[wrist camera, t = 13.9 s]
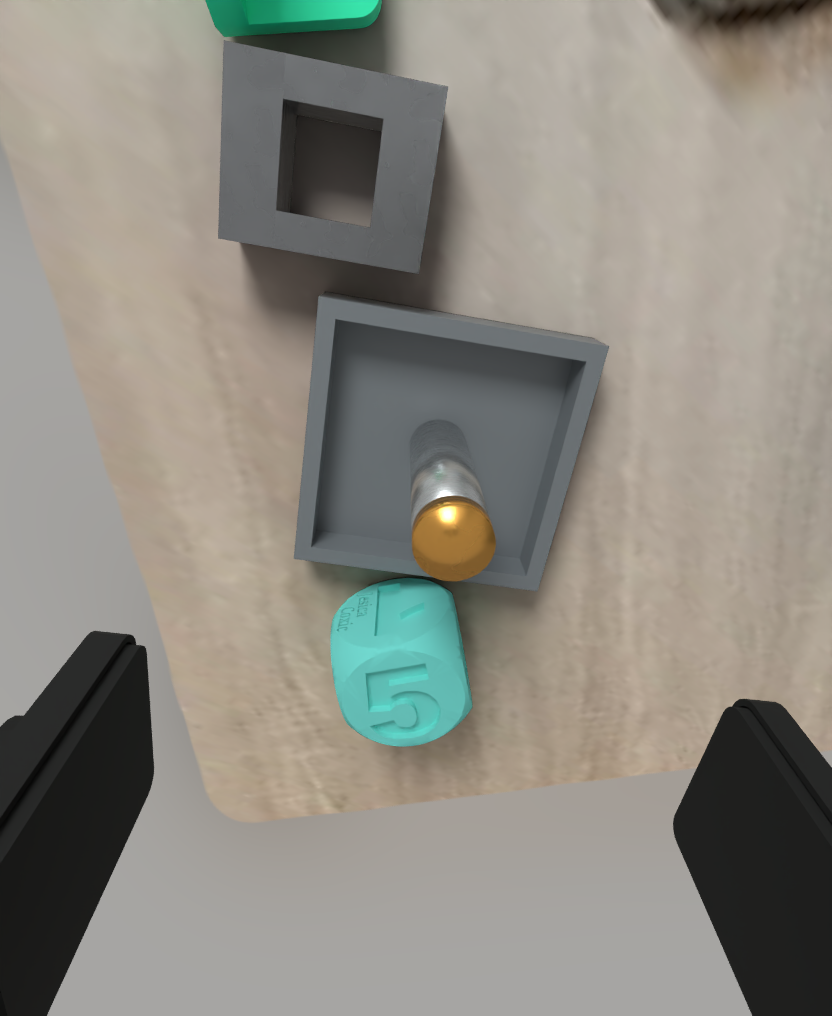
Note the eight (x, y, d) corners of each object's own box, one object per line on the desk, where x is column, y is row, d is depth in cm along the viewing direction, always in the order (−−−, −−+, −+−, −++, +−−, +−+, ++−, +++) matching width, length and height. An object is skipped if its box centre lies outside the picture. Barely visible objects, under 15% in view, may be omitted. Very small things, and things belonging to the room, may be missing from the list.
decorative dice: (447, 567, 42) (457, 637, 35) (465, 657, 45) (477, 738, 38) (337, 587, 42) (323, 660, 35) (362, 674, 46) (355, 757, 38)
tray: (593, 337, 36) (609, 346, 33) (528, 568, 42) (537, 591, 39) (325, 291, 34) (318, 296, 31) (301, 537, 41) (293, 558, 38)
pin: (471, 424, 37) (504, 513, 25) (460, 477, 38) (486, 586, 26) (414, 415, 37) (419, 501, 25) (405, 469, 38) (405, 575, 26)
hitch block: (442, 104, 31) (448, 86, 27) (417, 270, 34) (418, 273, 30) (245, 64, 30) (223, 40, 26) (238, 238, 33) (218, 238, 29)
